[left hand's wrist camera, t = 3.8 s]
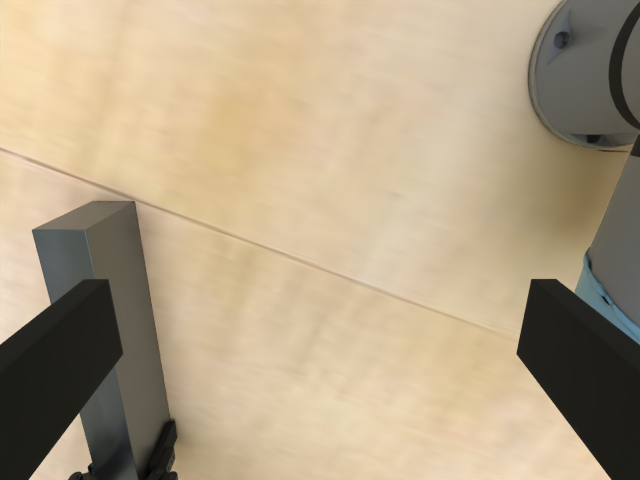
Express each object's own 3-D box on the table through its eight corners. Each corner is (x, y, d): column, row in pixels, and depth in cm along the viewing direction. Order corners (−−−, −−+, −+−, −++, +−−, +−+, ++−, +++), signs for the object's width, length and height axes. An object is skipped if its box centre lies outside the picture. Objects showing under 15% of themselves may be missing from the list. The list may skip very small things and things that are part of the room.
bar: (92, 201, 42) (31, 229, 33) (134, 201, 42) (85, 229, 33) (141, 445, 54) (105, 514, 45) (174, 444, 54) (145, 514, 45)
